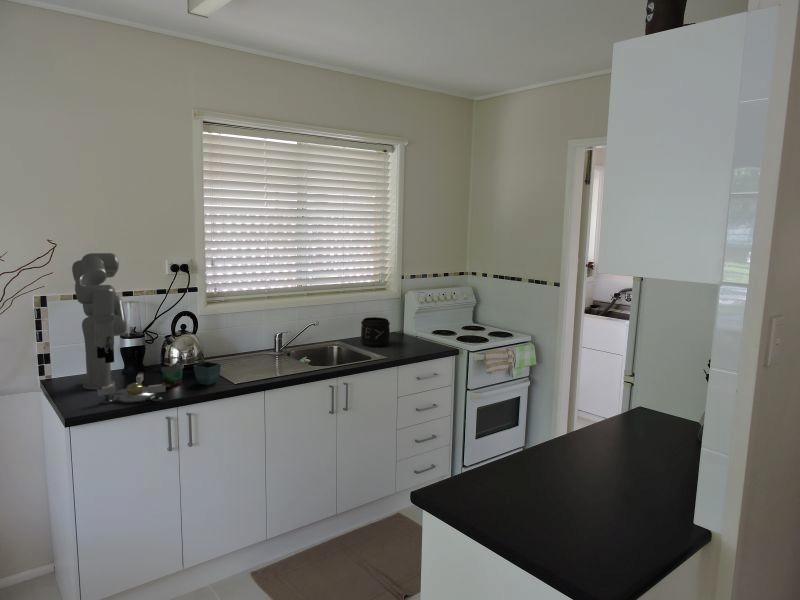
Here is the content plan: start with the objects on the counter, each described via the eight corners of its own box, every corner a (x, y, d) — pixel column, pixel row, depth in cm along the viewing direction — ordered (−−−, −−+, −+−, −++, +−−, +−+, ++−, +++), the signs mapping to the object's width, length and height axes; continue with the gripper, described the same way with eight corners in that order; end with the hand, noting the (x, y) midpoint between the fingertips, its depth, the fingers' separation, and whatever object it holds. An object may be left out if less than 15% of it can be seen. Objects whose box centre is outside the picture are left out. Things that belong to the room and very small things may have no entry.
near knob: (114, 397, 237) (114, 384, 236) (116, 398, 235) (115, 385, 235) (97, 400, 232) (97, 387, 231) (99, 401, 231) (98, 388, 230)
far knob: (149, 399, 236) (148, 386, 235) (148, 397, 238) (148, 384, 237) (165, 397, 239) (165, 384, 239) (165, 395, 241) (164, 382, 240)
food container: (174, 390, 253) (173, 368, 251) (161, 388, 254) (161, 366, 253) (189, 382, 265) (189, 361, 263) (177, 381, 266) (177, 360, 264)
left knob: (141, 388, 249) (140, 376, 248) (136, 389, 249) (135, 376, 248) (143, 384, 255) (143, 372, 254) (139, 384, 255) (138, 372, 254)
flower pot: (209, 387, 258) (208, 368, 257) (193, 384, 261) (192, 365, 260) (221, 382, 267) (221, 363, 265) (206, 379, 270) (205, 361, 268)
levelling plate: (98, 403, 233) (97, 389, 232) (138, 387, 255) (138, 374, 254) (141, 409, 227) (141, 395, 226) (179, 392, 249) (179, 379, 248)
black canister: (353, 344, 354) (354, 319, 352) (373, 340, 368) (374, 315, 365) (375, 349, 342) (376, 323, 340) (394, 344, 356) (395, 319, 354)
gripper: (86, 316, 232) (88, 357, 235) (100, 322, 220) (102, 366, 223) (106, 314, 238) (108, 354, 240) (121, 320, 225) (123, 363, 228)
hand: (105, 360), depth 231 cm, fingers open, 9 cm apart
